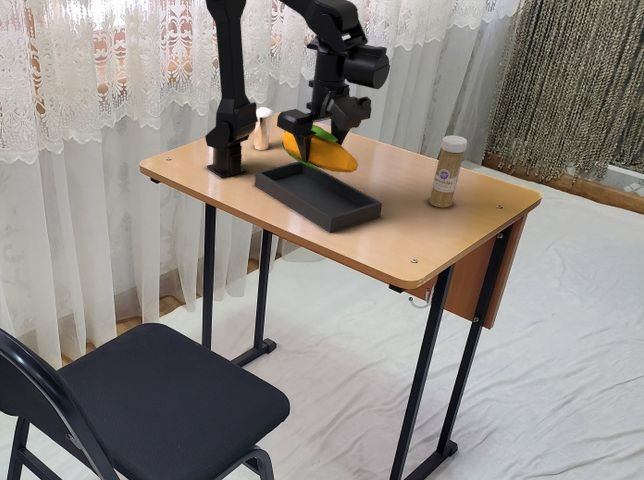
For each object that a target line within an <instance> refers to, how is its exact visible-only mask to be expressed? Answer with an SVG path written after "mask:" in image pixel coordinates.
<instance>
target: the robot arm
mask: <svg viewBox="0 0 644 480" xmlns="http://www.w3.org/2000/svg"><path fill="white" fill-rule="evenodd" d="M247 1H248V0H205V1H204V2H205V6H206V9H207V11H208V13H209V15H210V16H211V18H212V20H213V21H214V24H215V33H216V34H215V35H216V45H217V56H218V57H217V58H218V69H219V81H220V93H221V95H220V96H221V97H220V100H219V104H218V107H217V109H216V112H215V126H214V127H213V128H212V129H211V130H210V131H209V132H208V133H206V134H205V136H204V139H205V142H206V146H207V147H210V148H212V149H213V151H212V163H211V164H207V165H206V169H208V170H210V172H212V173H214V174H216V175H217V176H219V177H220V178H227V177H231V176H235V175H239V174H242V173H243V174H244V173H246V172H247V168H245V167H244V166H242V157H243V154H242V150H243V149H242V148H243V146H242V142H247V141H248V140H249V138H250V135H251V134H252V133H253V132H254V130H255V127H256V122H258V119H257V114H256V109H258V108H257V107H258V106H257V102H256V101H255V102H251V101H250V99H249V98H248V96H247V93H246V83H245V81H246V80H245V66H244V53H243V51H244V50H243V38H242V23H241V21H242V17H243V13H244V12H245V8H246V5H247ZM278 1H279V2H281V3H282V4H283V5H285V6H286V7H288V8H290V9H291V10H292V11H294V12H295V13H297V14H299V15H300V16H301V17H302V18H303V19H304V21H305V24H306V25H307V27H308V29H309V30H310V31H311V32H313V34H315V35H316V36H315V37H314V38H313V39H312V40H311V41H310V42H309V43H307V44H306V45H305V47H306V49H308V50H313V51H316V55H315V65H314V73H313V79H310V80H308V87H309V88H311V89H312V91H311V100H310V101H308V102H306V105H305V107H306V109H307V110H310V111H309V112H306V113H305V112H303V111H302V110H299V109H297V108H293V109H289V110H284V111H283V110H282V111H280V113H278V115H277V120H276V121H277V122H276V127H277V128H279V129H281V130H283V131H284V132H285V131H287V132H289V133H291V134H293V136H294V138H295V141H296V143H297V146H298V149H299V152H300V155H301V158H302V160H303V162H305V163H307V162H308V159H309V154H310V146H311V139H312V137H313V136H314V135H315V134H316V133H317V132H315V131H313V130H312V127H313V125H314V123H319V122H323V121H328V120H330V133H331V134H332V135H333V136H334V137H336V139H337V140H338V141H336V143H338V144H340V145H341V146H342V145H343V144H344V141H345V139H346V137H347V136H348V134H349V133H350V131H351V129H353V128H355V129H356V128H359V127H360V125H361V123H362V121H364V120H369V119H371V114H372V99H371V98H370V97H369V96H362V97H356V96H355V95H354V96H351V94H350V91H351V90H350V89H351V88H350V84H352V85H353V84H354V85H358V86H360V87H361V86H362V87H366V88H370V89H374V90H380V89H381V88H382V87H383V86H384V85H385V83H386V81H387V79H388V76H389V73H390V70H391V64H390V58H389V56H388V55H387V51H388V48H387V47H386V46H381V45H377V46H376V45H370V44H368V43H369V41H368V38H367V35H366V32H365V31H364V28H363V26H362V24H361V21H360V18H359V11H358V6H357V5H355V4H354V3H353V2H352V1H350V0H278ZM346 36H349V37H347V38H345V39H344V38H343V37H346ZM346 82H347V83H346ZM348 83H349V84H348Z"/></svg>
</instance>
